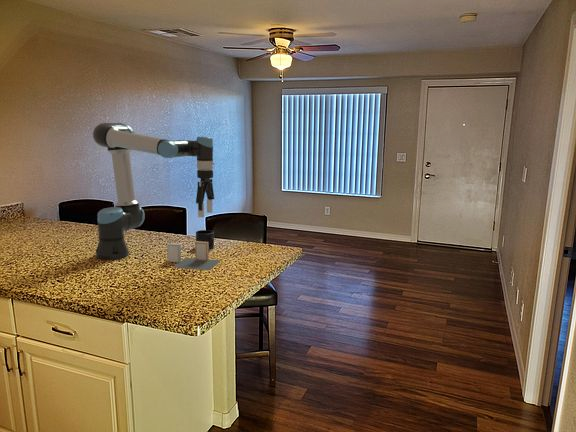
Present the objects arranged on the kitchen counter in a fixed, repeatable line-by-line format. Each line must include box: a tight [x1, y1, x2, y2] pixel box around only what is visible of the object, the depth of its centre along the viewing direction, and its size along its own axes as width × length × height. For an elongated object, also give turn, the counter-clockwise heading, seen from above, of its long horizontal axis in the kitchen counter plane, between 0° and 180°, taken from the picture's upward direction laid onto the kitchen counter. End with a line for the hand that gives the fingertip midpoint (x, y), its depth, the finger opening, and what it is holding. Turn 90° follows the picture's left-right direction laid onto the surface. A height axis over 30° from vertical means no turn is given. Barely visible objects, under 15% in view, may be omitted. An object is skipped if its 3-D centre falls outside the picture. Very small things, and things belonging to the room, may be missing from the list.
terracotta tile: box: [194, 240, 210, 261], centre depth 216 cm, size 6×2×9 cm, turn 80°
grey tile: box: [166, 242, 182, 263], centre depth 213 cm, size 6×2×9 cm, turn 80°
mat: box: [172, 257, 222, 271], centre depth 211 cm, size 18×16×1 cm
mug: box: [195, 229, 215, 250], centre depth 238 cm, size 9×12×9 cm
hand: (205, 214), depth 217 cm, fingers open, 11 cm apart
